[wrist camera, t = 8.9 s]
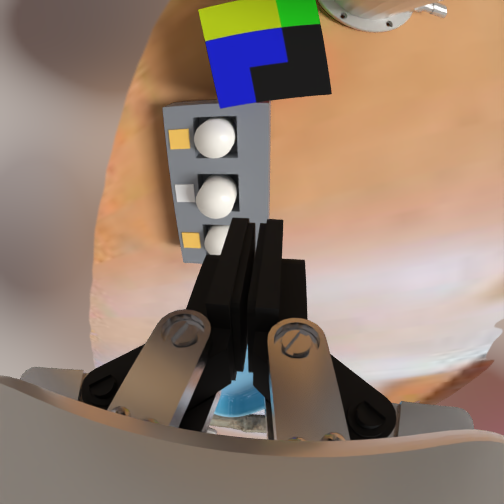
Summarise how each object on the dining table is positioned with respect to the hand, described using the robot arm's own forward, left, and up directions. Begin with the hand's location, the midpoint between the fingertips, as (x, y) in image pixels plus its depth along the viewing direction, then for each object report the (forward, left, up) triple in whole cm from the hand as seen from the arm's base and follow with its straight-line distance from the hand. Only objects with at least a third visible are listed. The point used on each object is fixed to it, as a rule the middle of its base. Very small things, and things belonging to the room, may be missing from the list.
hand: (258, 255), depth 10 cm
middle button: (+7, +9, -26) cm, 28 cm away
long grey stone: (+9, +83, -30) cm, 89 cm away
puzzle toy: (+1, -8, -29) cm, 30 cm away
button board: (+7, +9, -29) cm, 31 cm away
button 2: (+7, +16, -27) cm, 32 cm away
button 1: (+7, +2, -27) cm, 28 cm away
